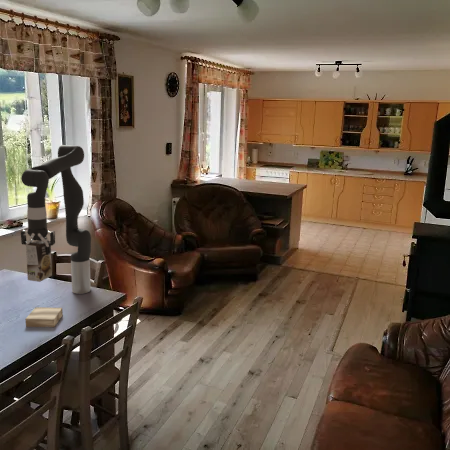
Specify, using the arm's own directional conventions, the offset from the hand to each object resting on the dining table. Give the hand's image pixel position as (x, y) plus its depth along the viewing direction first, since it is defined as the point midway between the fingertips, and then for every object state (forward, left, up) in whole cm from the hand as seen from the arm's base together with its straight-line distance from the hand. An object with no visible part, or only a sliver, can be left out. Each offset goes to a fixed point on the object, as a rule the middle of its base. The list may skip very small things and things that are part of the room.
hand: (38, 254), depth 194 cm
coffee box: (0, 0, -11) cm, 11 cm away
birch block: (+2, +2, -31) cm, 31 cm away
